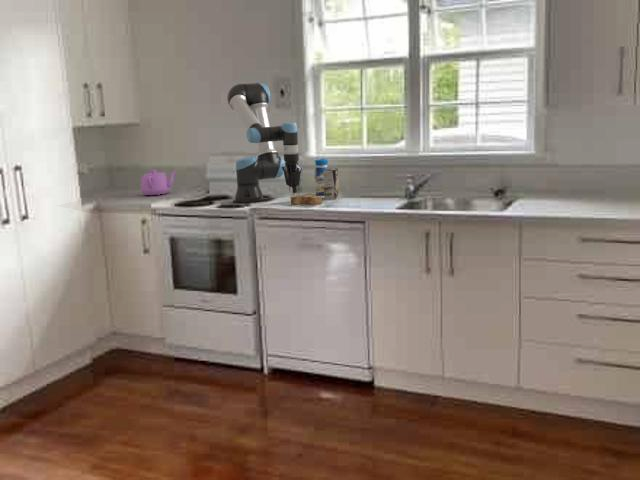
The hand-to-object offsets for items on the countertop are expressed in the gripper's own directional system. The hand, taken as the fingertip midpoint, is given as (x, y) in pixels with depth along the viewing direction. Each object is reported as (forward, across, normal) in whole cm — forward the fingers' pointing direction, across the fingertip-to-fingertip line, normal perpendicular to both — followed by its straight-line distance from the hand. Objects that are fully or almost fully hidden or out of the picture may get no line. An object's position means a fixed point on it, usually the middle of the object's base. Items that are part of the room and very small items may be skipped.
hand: (293, 199), depth 346 cm
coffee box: (+3, +9, +19) cm, 21 cm away
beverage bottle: (+3, -5, +26) cm, 26 cm away
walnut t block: (+1, +12, 0) cm, 12 cm away
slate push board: (+2, +8, 0) cm, 8 cm away
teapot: (+4, -105, -19) cm, 107 cm away
